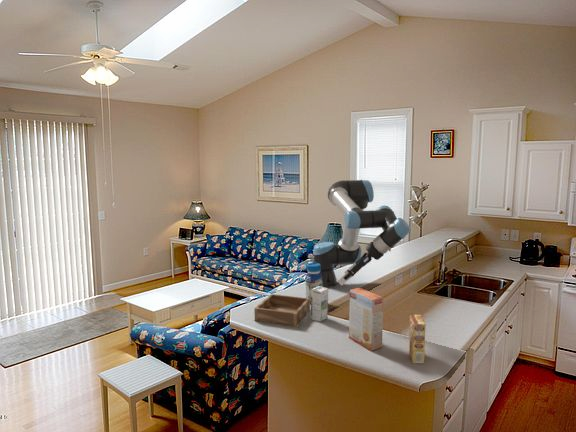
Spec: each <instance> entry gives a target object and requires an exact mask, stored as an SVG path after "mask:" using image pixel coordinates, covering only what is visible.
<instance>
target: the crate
mask: <svg viewBox="0 0 576 432" xmlns="http://www.w3.org/2000/svg"><path fill="white" fill-rule="evenodd" d="M309 312H311V305H310V299H309V298H306V297H301V296H300V297H299V296H290V295H283V294H275V293H271V294H269V295H268V296H267V297H266V298H265V299H263V301H261V302H260V303H259V304H258V305H256V306H255V307H254V322H260V323H268V324H274V325H280V326H285V327H293V326H294V327H293V328H297V327H298V326H297V325H299V324H300V323H301V322H302V321H303V320H304V318H305V317H306V316H307V315H308V314H309ZM307 313H308V314H307Z"/></svg>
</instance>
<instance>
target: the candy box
mask: <svg viewBox="0 0 576 432" xmlns="http://www.w3.org/2000/svg"><path fill="white" fill-rule="evenodd" d="M408 341H409V346H408V349H409V350H408V352H409V355H410V358H411V362H412V364H422V365H423V364H425V351H426V349H425V346H426V345H425V343H426V323H425V321H424V319H423V316H422V315H421V314H410V315H409V339H408Z"/></svg>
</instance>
